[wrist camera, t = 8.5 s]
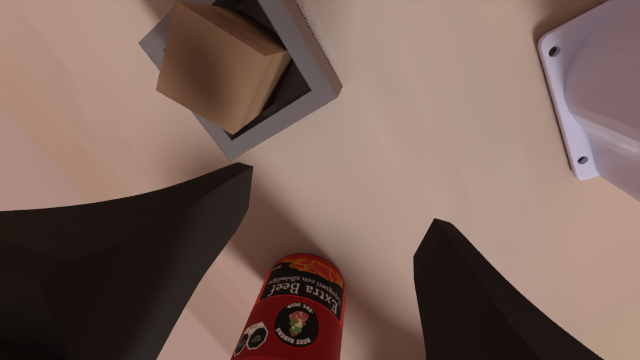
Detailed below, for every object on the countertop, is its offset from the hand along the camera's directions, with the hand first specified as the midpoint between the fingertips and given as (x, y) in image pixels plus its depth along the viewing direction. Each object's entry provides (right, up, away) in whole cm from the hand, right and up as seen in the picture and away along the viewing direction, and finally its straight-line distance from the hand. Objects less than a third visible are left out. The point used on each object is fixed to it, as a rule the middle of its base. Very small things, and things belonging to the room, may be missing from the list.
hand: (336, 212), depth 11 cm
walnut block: (-5, +9, +7) cm, 12 cm away
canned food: (-2, -8, +16) cm, 18 cm away
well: (-5, +9, +7) cm, 12 cm away
